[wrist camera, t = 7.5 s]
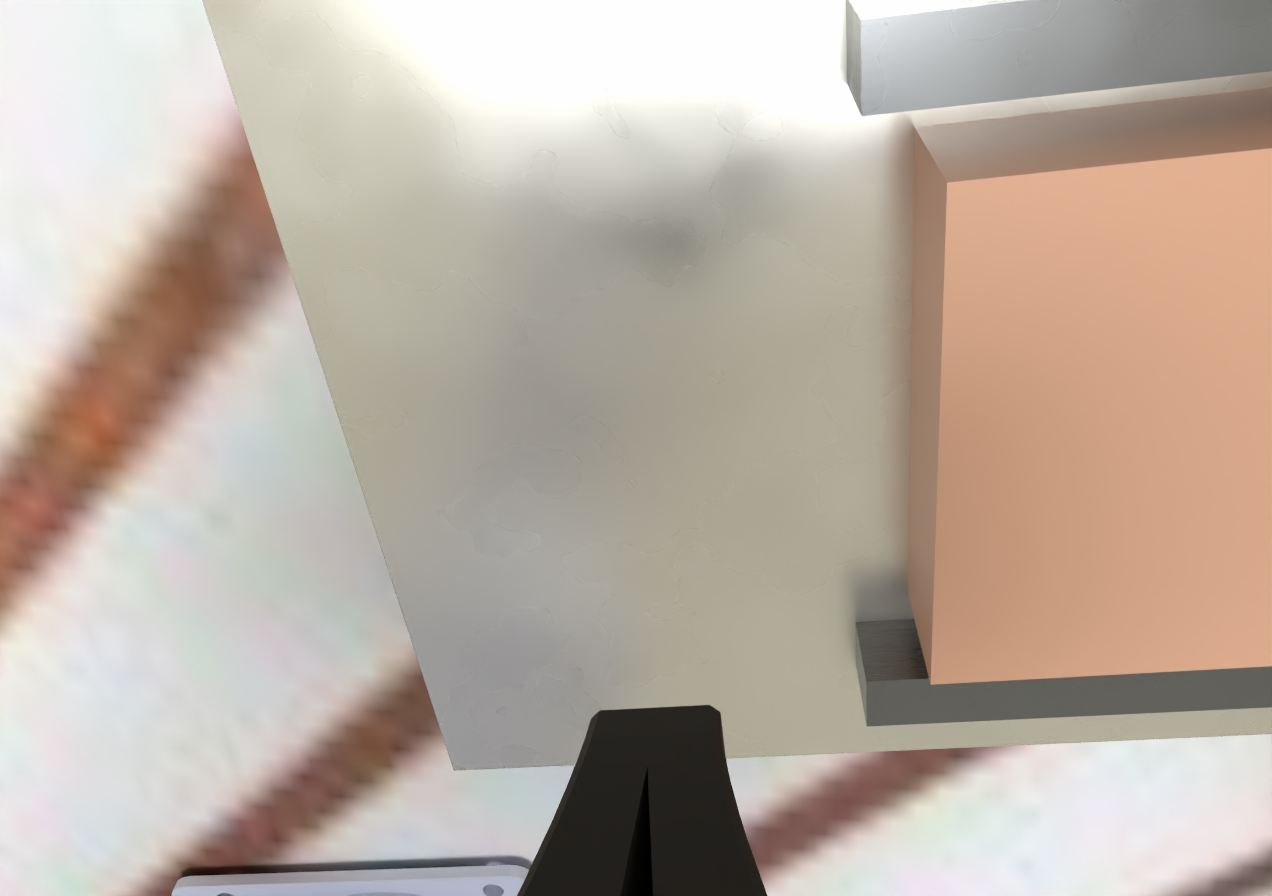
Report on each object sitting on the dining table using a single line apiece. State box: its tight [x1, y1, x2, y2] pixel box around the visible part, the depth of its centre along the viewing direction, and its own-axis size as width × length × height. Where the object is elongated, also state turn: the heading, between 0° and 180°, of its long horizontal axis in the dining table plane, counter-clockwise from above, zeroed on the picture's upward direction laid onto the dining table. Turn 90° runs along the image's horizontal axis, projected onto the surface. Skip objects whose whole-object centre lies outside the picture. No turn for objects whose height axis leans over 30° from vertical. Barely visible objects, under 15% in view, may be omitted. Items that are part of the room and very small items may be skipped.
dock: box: [202, 0, 1272, 770], centre depth 15 cm, size 28×18×6 cm, turn 97°
